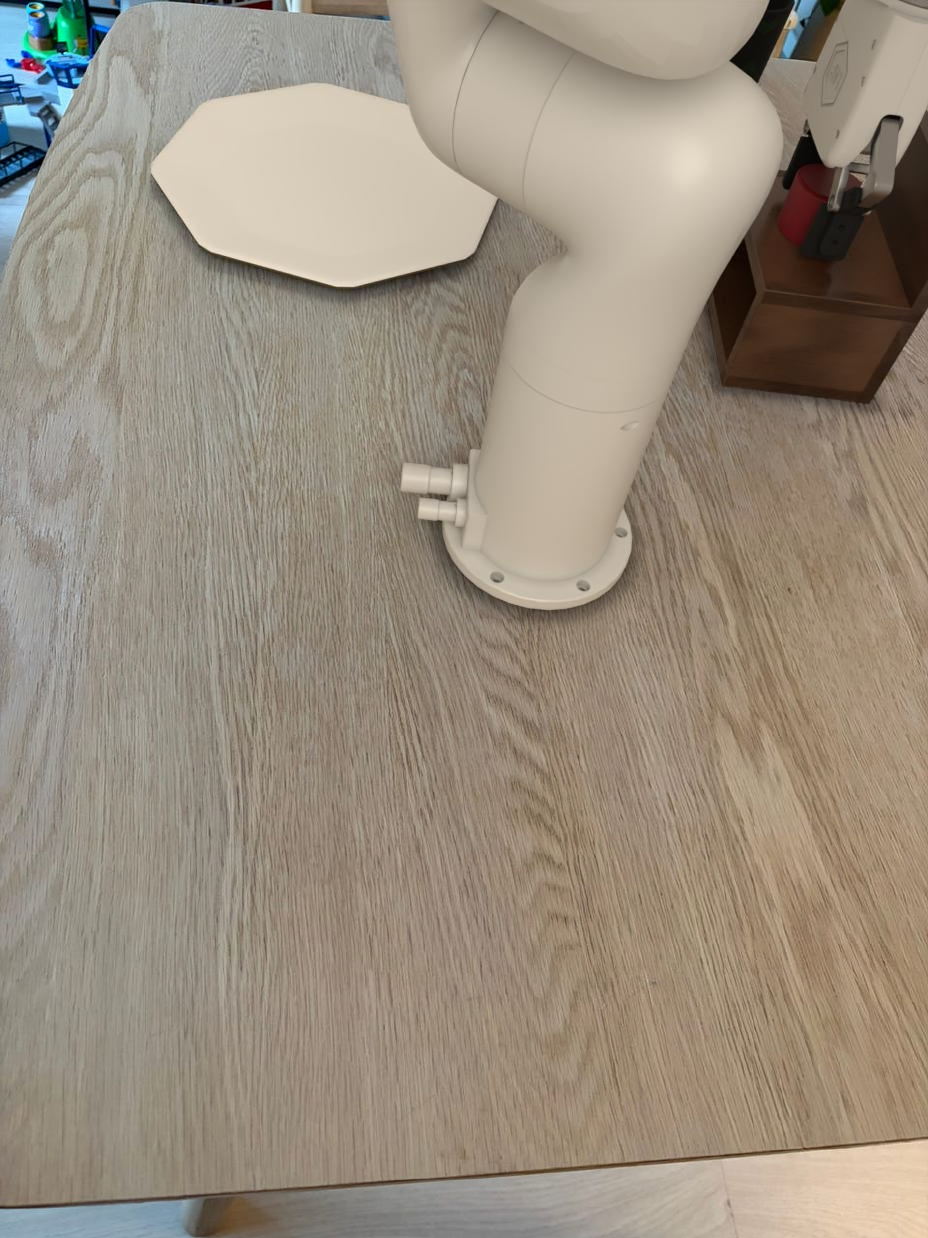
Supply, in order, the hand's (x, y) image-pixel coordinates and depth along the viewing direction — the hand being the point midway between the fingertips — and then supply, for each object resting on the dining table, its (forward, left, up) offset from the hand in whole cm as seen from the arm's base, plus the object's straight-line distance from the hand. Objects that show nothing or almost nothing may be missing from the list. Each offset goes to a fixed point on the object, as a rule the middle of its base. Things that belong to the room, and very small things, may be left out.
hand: (810, 220), depth 77 cm
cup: (0, +32, -10) cm, 34 cm away
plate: (-36, +11, -10) cm, 39 cm away
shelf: (+2, 0, -10) cm, 10 cm away
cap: (0, 0, -1) cm, 1 cm away
